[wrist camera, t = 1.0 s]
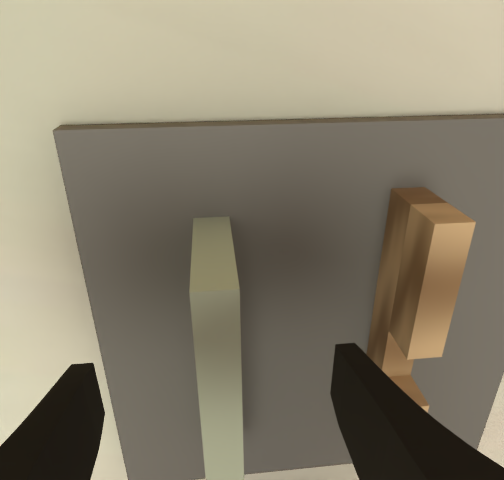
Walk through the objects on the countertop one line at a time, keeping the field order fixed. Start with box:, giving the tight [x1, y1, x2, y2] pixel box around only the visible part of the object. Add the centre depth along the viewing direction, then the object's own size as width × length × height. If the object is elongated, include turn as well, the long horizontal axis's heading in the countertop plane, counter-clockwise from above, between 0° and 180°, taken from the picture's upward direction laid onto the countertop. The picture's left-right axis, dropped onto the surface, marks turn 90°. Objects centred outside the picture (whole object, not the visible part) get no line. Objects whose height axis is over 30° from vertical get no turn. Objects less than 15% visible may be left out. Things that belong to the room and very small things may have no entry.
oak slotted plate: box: [366, 187, 476, 413], centre depth 21 cm, size 16×2×4 cm, turn 0°
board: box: [53, 114, 504, 480], centre depth 23 cm, size 22×23×1 cm
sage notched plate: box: [189, 216, 244, 480], centre depth 19 cm, size 14×2×6 cm, turn 0°
